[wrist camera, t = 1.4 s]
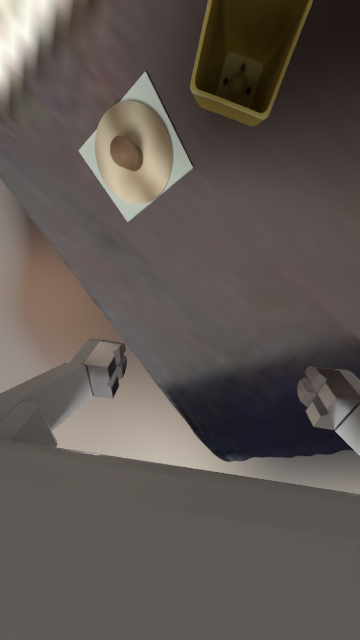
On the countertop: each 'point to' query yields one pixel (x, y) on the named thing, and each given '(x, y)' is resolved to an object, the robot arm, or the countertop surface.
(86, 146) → the mat
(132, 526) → the robot arm
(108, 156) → the lid
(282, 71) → the flower pot
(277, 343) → the countertop surface
